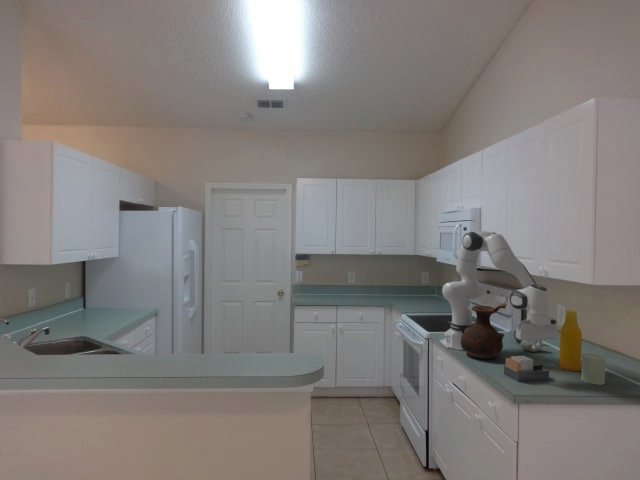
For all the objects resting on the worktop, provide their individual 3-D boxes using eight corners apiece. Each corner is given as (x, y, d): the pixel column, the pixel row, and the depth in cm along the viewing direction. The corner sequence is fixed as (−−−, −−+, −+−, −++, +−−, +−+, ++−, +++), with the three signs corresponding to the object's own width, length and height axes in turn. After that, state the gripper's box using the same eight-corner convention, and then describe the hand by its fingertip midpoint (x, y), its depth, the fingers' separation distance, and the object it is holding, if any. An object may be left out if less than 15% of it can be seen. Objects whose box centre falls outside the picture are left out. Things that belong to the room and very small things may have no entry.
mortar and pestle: (517, 345, 242) (518, 325, 241) (510, 341, 251) (510, 322, 251) (536, 345, 242) (536, 326, 242) (527, 341, 251) (528, 322, 251)
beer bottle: (576, 372, 194) (577, 313, 194) (555, 367, 201) (557, 310, 201) (584, 369, 199) (585, 311, 199) (564, 364, 207) (565, 308, 207)
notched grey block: (519, 371, 183) (519, 360, 183) (510, 367, 189) (511, 356, 189) (532, 370, 184) (533, 359, 184) (523, 366, 190) (523, 355, 190)
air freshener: (524, 352, 227) (525, 335, 227) (517, 348, 236) (518, 331, 235) (544, 352, 227) (544, 335, 227) (536, 348, 235) (536, 331, 235)
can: (594, 385, 177) (595, 358, 177) (576, 378, 186) (576, 352, 186) (610, 383, 180) (610, 357, 180) (591, 376, 189) (591, 351, 189)
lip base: (533, 372, 194) (533, 355, 194) (548, 379, 184) (549, 362, 184) (503, 374, 190) (504, 357, 190) (518, 381, 181) (518, 364, 181)
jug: (475, 363, 207) (476, 305, 206) (453, 350, 228) (454, 298, 227) (512, 361, 211) (513, 304, 210) (487, 349, 232) (488, 297, 231)
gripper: (522, 321, 183) (521, 351, 183) (560, 320, 187) (559, 349, 188) (513, 318, 189) (512, 347, 190) (550, 317, 193) (549, 346, 194)
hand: (536, 348), depth 189 cm, fingers closed
